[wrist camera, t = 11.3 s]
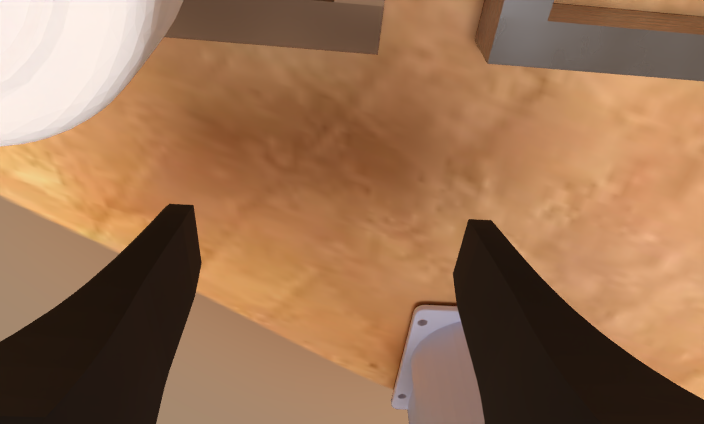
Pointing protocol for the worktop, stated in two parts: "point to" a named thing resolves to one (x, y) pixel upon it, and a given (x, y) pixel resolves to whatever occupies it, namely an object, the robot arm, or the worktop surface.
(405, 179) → the worktop surface
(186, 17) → the brown square frame
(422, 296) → the worktop surface
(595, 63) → the socket block
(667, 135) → the worktop surface
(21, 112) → the spice jar
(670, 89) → the worktop surface
